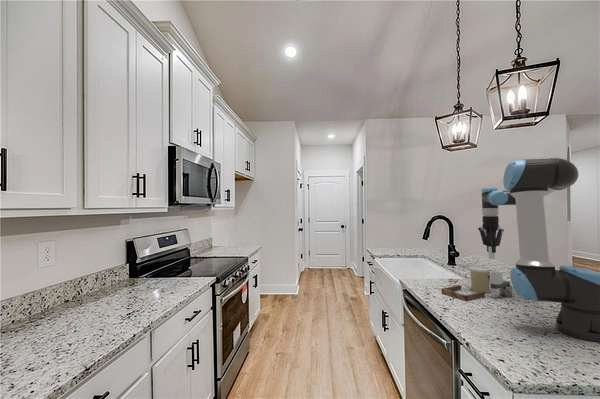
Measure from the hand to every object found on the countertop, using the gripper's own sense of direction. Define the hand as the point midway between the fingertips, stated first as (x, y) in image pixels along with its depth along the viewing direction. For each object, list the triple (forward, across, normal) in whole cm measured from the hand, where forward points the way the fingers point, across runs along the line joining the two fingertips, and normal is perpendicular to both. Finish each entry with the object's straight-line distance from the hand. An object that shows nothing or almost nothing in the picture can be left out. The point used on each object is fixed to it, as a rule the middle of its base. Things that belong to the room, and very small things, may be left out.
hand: (491, 258), depth 160 cm
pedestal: (+16, -11, +7) cm, 21 cm away
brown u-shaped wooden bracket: (+16, 0, +24) cm, 29 cm away
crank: (+11, -11, +11) cm, 19 cm away
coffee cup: (+17, 0, +10) cm, 20 cm away
